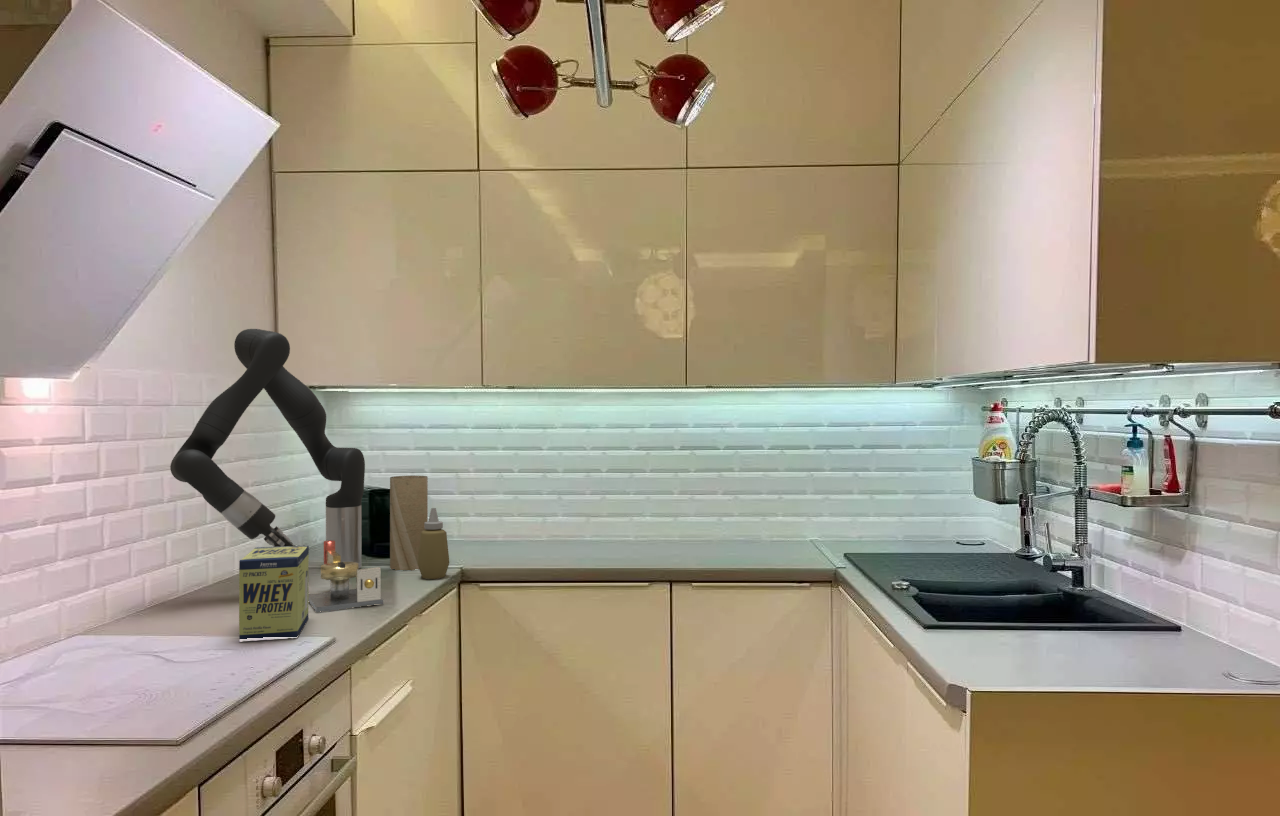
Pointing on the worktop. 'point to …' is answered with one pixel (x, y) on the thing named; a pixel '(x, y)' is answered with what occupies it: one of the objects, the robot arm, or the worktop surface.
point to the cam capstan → (336, 564)
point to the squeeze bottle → (433, 549)
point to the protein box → (273, 592)
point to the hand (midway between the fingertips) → (305, 562)
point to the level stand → (350, 592)
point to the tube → (407, 519)
